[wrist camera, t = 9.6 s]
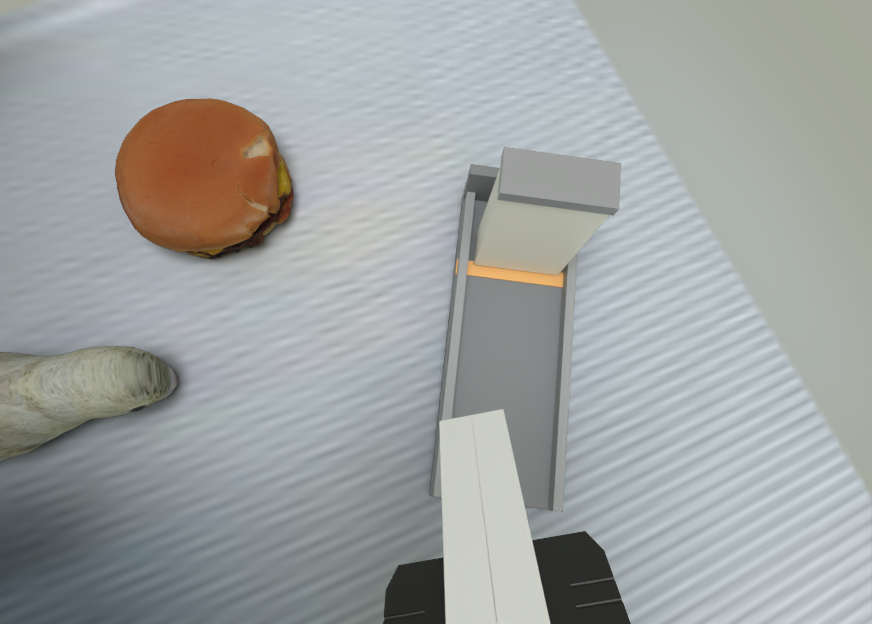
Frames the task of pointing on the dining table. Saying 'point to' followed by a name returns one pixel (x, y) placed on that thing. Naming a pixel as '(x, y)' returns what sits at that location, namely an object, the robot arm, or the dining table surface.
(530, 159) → the fader tab
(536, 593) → the robot arm
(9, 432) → the decorative bird
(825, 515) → the dining table surface
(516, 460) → the fader rail
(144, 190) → the burger
